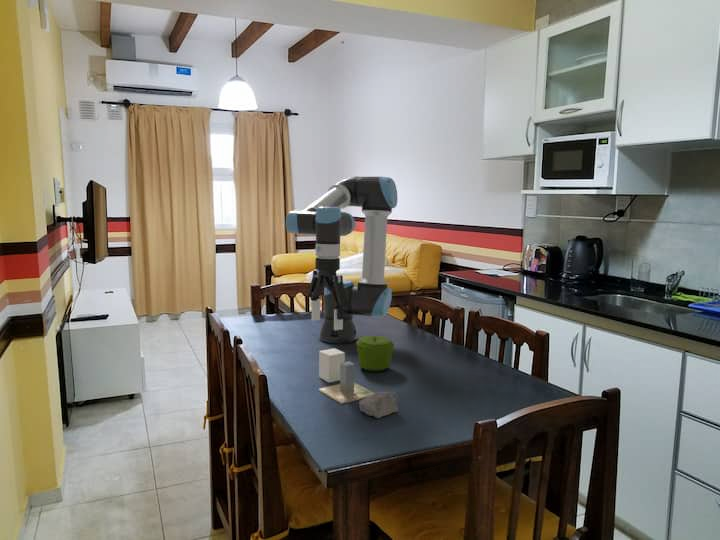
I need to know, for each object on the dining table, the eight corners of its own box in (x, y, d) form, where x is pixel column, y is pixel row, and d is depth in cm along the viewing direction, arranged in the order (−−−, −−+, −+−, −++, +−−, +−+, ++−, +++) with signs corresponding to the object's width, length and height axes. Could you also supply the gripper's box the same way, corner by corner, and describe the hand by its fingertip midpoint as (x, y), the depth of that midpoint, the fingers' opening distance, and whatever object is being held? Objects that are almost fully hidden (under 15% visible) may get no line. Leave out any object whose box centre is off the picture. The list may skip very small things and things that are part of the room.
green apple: (366, 377, 170) (367, 343, 168) (349, 365, 181) (350, 333, 179) (399, 371, 176) (400, 338, 174) (381, 361, 186) (382, 329, 185)
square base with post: (351, 382, 164) (352, 354, 163) (375, 395, 155) (376, 365, 154) (318, 390, 157) (319, 361, 156) (341, 404, 148) (342, 373, 147)
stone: (355, 410, 144) (355, 389, 143) (386, 404, 149) (386, 384, 148) (369, 421, 137) (370, 399, 136) (401, 415, 142) (402, 394, 141)
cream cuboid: (334, 373, 172) (334, 348, 171) (344, 379, 168) (344, 352, 166) (318, 377, 169) (319, 351, 168) (328, 382, 164) (329, 355, 163)
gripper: (297, 253, 171) (297, 318, 174) (339, 262, 151) (337, 335, 154) (317, 252, 175) (317, 315, 178) (360, 261, 155) (359, 332, 158)
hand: (326, 324), depth 166 cm, fingers open, 13 cm apart
